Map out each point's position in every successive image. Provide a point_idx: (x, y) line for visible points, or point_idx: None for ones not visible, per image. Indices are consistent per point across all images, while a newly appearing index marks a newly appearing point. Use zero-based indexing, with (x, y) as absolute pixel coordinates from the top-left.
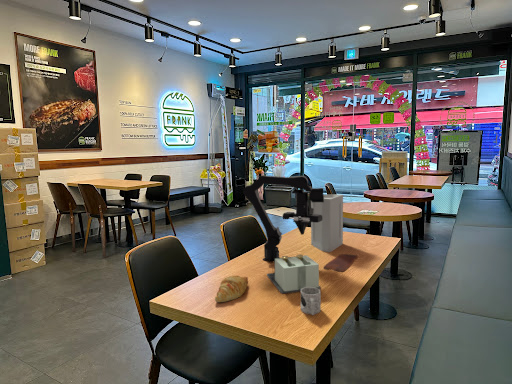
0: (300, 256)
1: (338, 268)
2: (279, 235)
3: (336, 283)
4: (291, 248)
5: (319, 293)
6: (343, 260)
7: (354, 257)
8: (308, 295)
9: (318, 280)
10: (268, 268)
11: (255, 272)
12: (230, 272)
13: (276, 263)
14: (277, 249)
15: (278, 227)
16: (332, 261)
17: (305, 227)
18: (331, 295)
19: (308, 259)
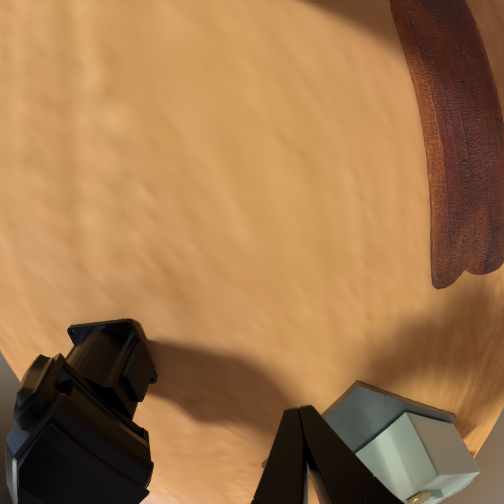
0: (424, 501)
1: (491, 258)
2: (134, 496)
3: (489, 361)
4: (31, 96)
5: (472, 480)
6: (475, 118)
7: (473, 27)
8: (455, 492)
9: (460, 438)
10: (210, 432)
11: (208, 465)
12: (154, 483)
13: None
14: (123, 389)
15: (20, 480)
16: (449, 182)
17: (376, 489)
18: (478, 413)
19: (449, 481)
